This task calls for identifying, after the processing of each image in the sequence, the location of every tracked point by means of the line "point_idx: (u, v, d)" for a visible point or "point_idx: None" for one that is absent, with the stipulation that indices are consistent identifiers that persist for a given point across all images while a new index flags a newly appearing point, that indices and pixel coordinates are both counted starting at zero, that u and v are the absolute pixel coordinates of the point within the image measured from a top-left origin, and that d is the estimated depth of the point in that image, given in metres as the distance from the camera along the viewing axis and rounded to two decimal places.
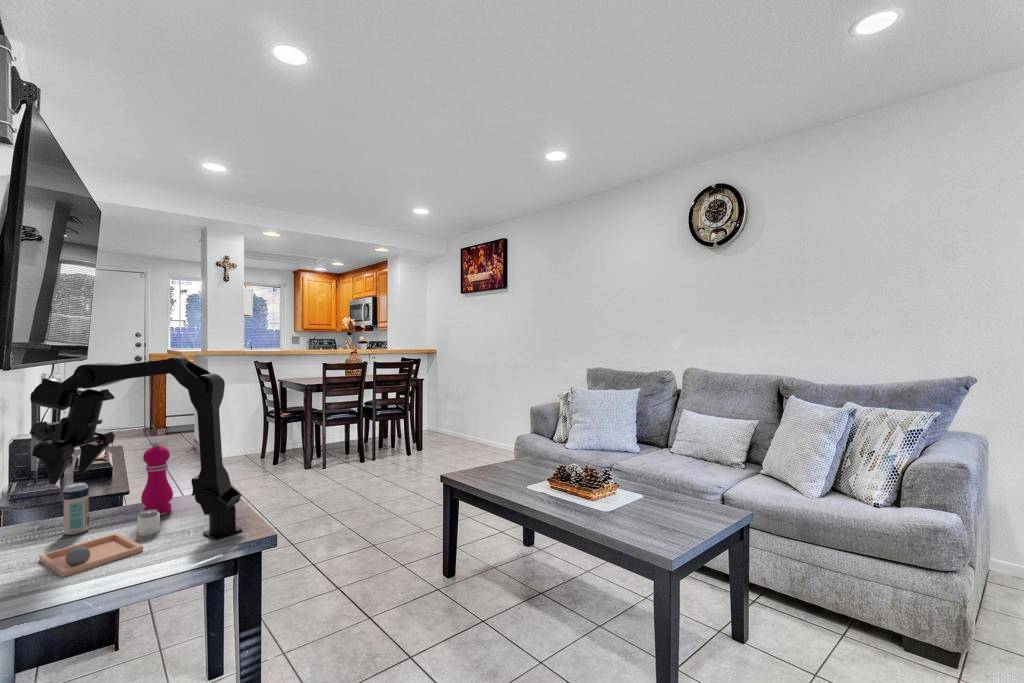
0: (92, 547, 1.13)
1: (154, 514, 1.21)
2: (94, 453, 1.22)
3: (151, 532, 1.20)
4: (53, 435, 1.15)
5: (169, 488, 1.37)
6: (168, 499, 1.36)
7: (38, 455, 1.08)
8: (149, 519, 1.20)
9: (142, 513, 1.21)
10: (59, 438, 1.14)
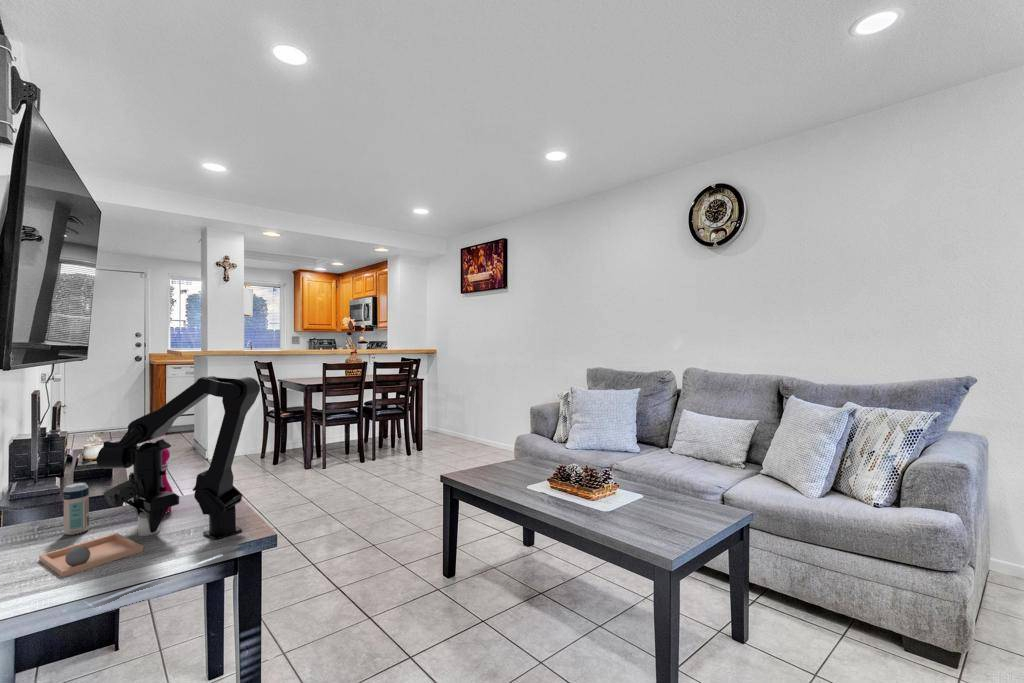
0: (92, 547, 1.13)
1: None
2: None
3: None
4: (134, 495, 1.17)
5: (169, 488, 1.37)
6: None
7: (160, 508, 1.16)
8: None
9: (142, 513, 1.21)
10: (143, 494, 1.18)
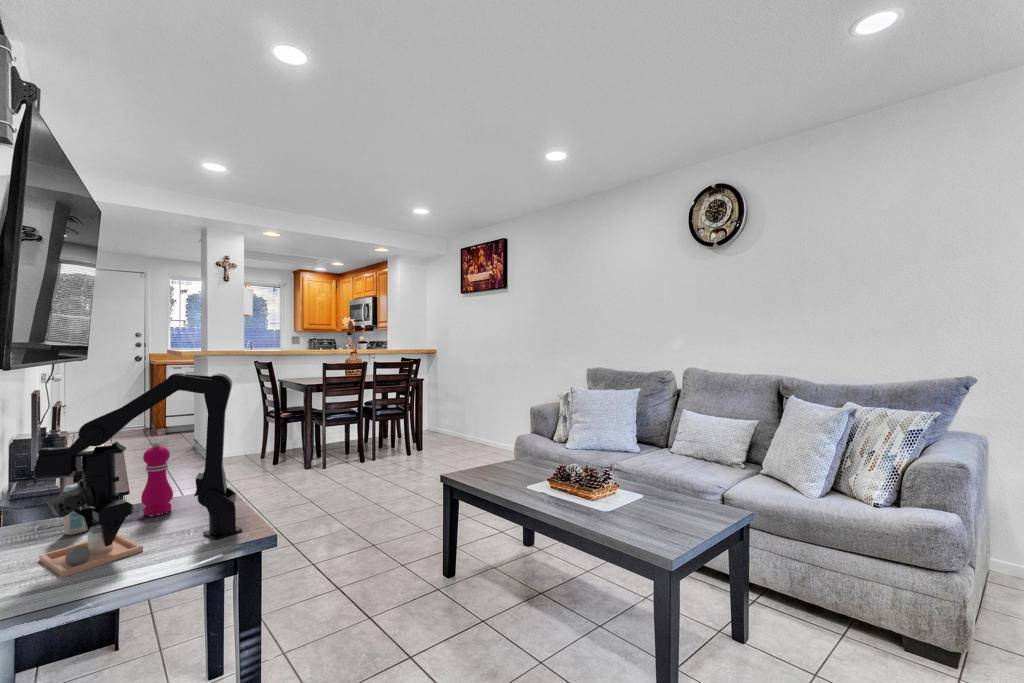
0: None
1: None
2: None
3: (102, 548, 1.10)
4: (82, 504, 1.07)
5: (169, 488, 1.37)
6: (168, 499, 1.36)
7: (110, 518, 1.05)
8: (100, 534, 1.10)
9: (93, 527, 1.10)
10: (93, 503, 1.08)
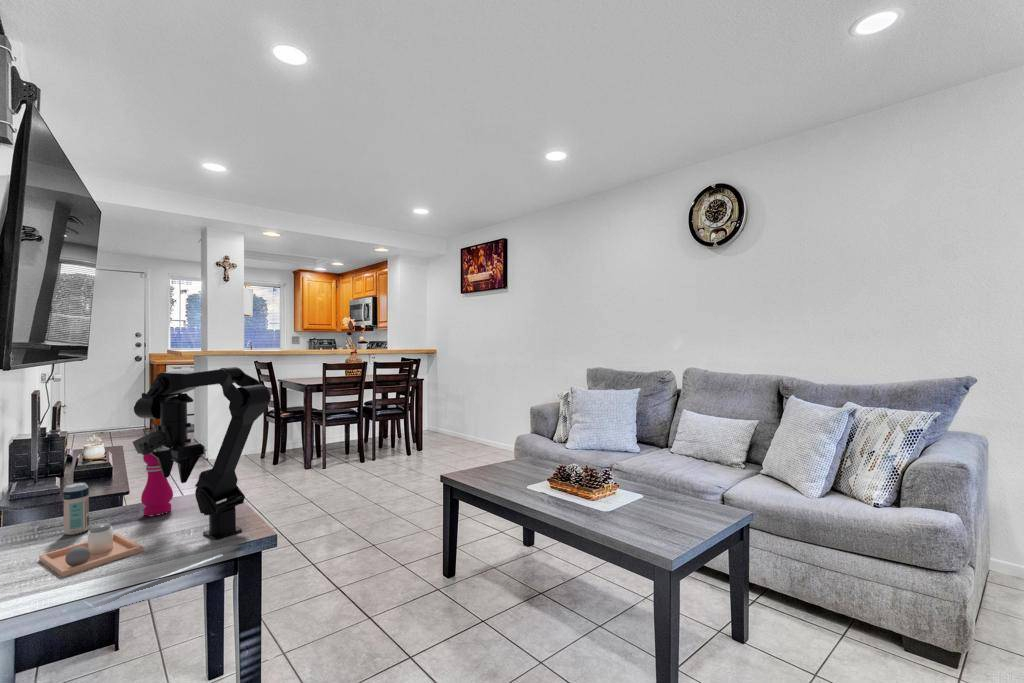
0: None
1: (106, 528, 1.11)
2: (172, 456, 1.31)
3: (102, 548, 1.10)
4: (162, 444, 1.22)
5: (169, 488, 1.37)
6: (168, 499, 1.36)
7: (187, 456, 1.21)
8: (100, 534, 1.10)
9: (93, 527, 1.11)
10: (170, 444, 1.23)
